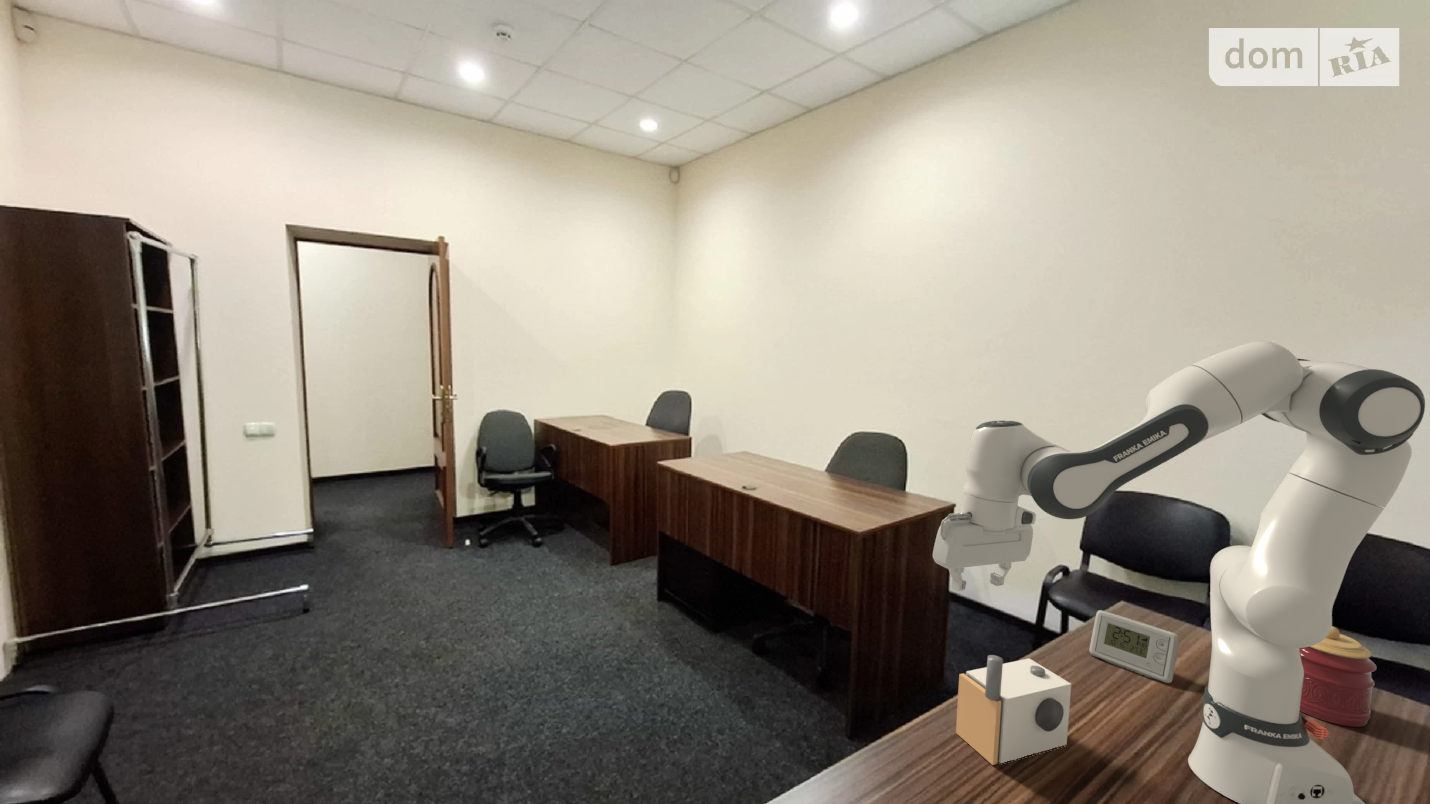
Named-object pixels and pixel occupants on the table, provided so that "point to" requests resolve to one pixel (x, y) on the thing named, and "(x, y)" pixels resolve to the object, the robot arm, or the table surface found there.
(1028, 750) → the camera case
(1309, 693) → the canister
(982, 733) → the wooden flat board
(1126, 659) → the digital clock
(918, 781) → the table surface
